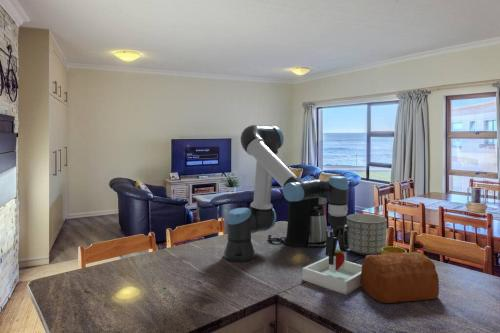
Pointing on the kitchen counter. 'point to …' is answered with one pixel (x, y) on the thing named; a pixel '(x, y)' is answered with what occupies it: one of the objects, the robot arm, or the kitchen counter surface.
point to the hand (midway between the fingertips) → (337, 269)
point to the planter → (366, 233)
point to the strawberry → (339, 258)
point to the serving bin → (334, 276)
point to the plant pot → (392, 250)
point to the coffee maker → (305, 223)
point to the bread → (399, 277)
